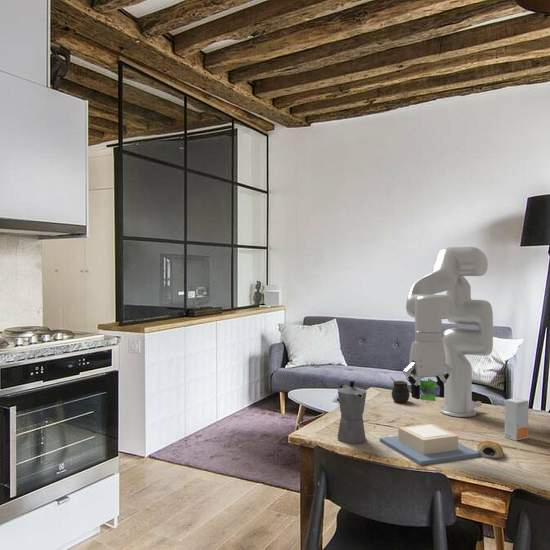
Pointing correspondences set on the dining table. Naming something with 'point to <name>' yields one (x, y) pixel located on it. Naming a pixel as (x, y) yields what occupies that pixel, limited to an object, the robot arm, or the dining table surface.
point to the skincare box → (516, 419)
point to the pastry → (490, 449)
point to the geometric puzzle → (429, 390)
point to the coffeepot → (351, 414)
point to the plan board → (429, 457)
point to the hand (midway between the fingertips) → (427, 396)
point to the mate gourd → (400, 391)
